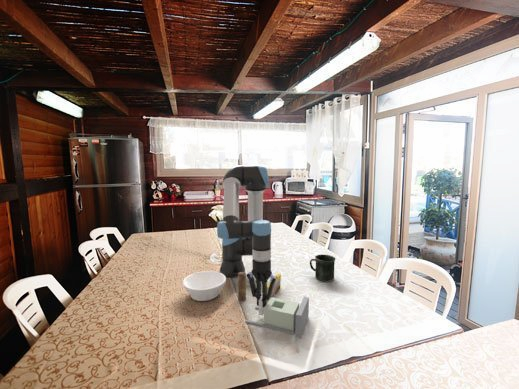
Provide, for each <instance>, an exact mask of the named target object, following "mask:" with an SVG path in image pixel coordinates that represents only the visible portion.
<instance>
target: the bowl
mask: <svg viewBox="0 0 519 389" xmlns="http://www.w3.org/2000/svg"><path fill="white" fill-rule="evenodd" d="M226 281H227V277H225V275H224V274H222V273H220V271H215V270H214V271H213V270H202V271H197V272H194V273H191V274H189V275H187V276H186V277H184V279H183V280H182V285H183V287H184V289H185V291H186V292H188V293H189V295H190V297H191V299H193V300H194V301H198V302H199V301H200V302H206V301H211V300H213V299H216V298H217V297H218V296H219V294H220V291H221V290H222V289H223V288H224V285H225V284H226Z"/></svg>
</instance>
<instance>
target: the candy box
mask: <svg viewBox="0 0 519 389" xmlns="http://www.w3.org/2000/svg"><path fill="white" fill-rule="evenodd" d="M275 276H277V279H276V281H275V283H274V287H273V291H272V295H271V297H273V298H274V296H275V295H277V294H278V293H279V291H280V289H281V282H282V281H281V280H282V279H281V278H282V277H281V276H282V274H280V273H277V274H276V275H275ZM269 285H270V282H269V283H268V284H267V293H268V289H269ZM271 297H270V298H271ZM269 300H270V299H269ZM269 300H267V302H268V301H269Z"/></svg>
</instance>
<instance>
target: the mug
mask: <svg viewBox="0 0 519 389" xmlns="http://www.w3.org/2000/svg"><path fill="white" fill-rule="evenodd" d="M335 261H336V257H335V256H332V255H329V254H317V255H315V257H314V258H312V259H310V260H309V267H310V269H311V270H312V271H314V272H315V274H314V275H315V278H316V279H317V280H319V281H321V282H332V281H333V280H335V263H336V262H335ZM312 262H315V268H314V266H313V263H312Z"/></svg>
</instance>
